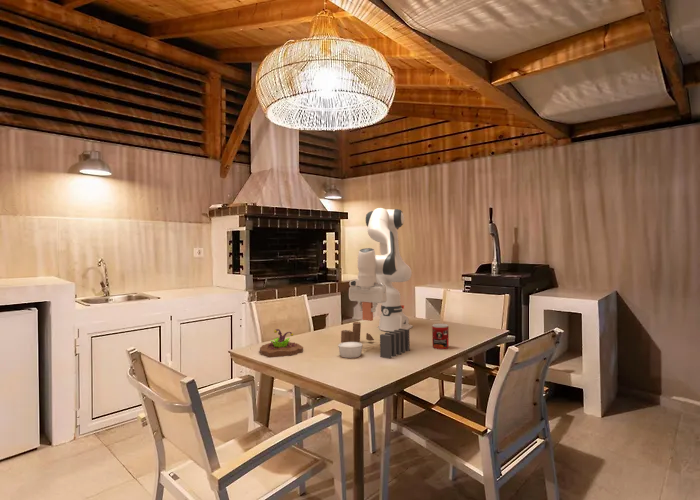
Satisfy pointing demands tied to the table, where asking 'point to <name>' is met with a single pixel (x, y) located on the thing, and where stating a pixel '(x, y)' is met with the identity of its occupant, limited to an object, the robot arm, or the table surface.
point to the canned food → (440, 336)
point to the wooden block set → (353, 334)
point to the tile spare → (367, 311)
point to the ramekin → (350, 349)
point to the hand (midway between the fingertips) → (367, 311)
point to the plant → (281, 347)
